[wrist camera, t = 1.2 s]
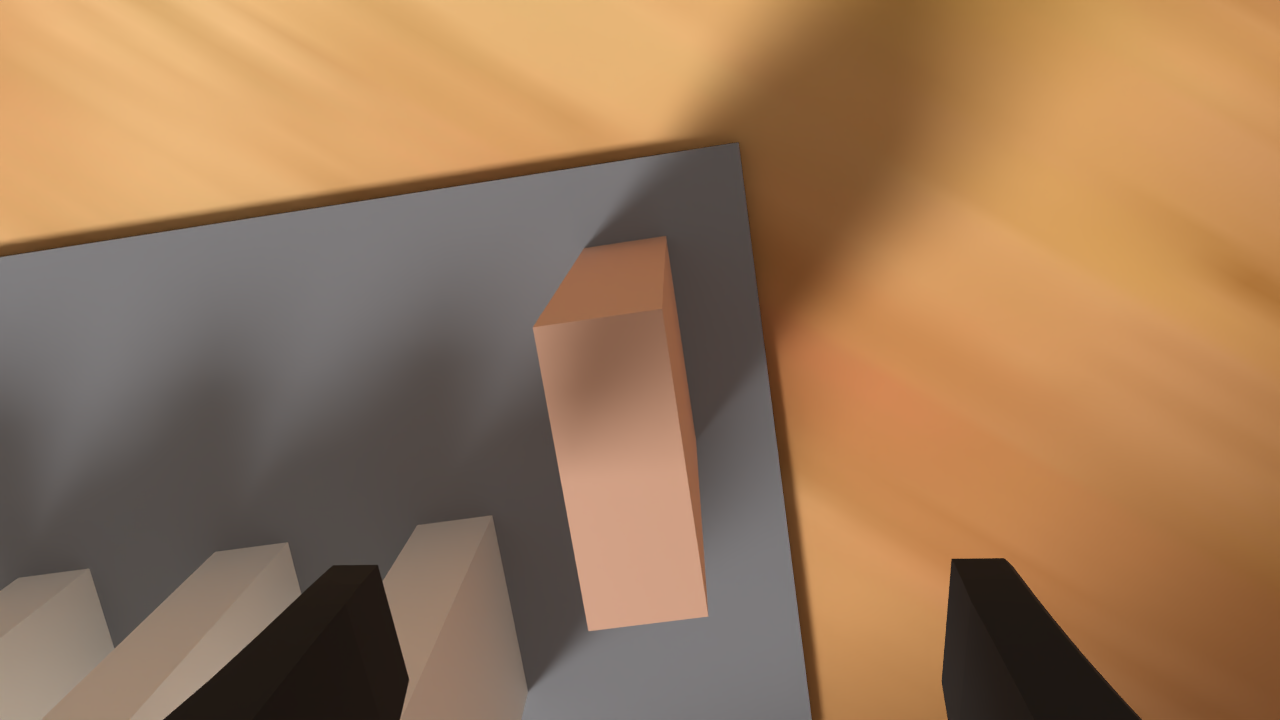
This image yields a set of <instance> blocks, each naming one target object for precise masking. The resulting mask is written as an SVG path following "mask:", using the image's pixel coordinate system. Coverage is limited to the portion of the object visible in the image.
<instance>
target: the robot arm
mask: <svg viewBox="0 0 1280 720" xmlns="http://www.w3.org/2000/svg"><path fill="white" fill-rule="evenodd" d="M408 683H409V677H408V673H407V669H406V666H405V662H404V658H403V655H402V651H401V647H400V644H399V640H398V636H397V633H396V629H395V625H394V622H393V618H392V614H391V611H390V607H389V604H388V600H387V596H386V593H385V589H384V585H383V582H382V578H381V574H380V571H379V567H378V565H333V566H332V567H330V568H329V569H328V570H327V571H326V572H325V573H324V574H323V575H321V576H320V577H319V578H318V579H317V580H316V581H315V582H314V583H313V584H312V585H311V586H309V587H308V588H307V589H306V590H305V591H304V592H303V593H302V594H301V595H300V596H299V597H298V598H297V599H296V600H295V601H294V602H292V603H291V604H290V605H289V606H288V607H287V608H286V609H285V610H284V611H283V612H282V613H281V614H280V615H279V616H278V617H277V618H276V619H275V620H274V621H272V622H271V623H270V624H269V625H268V626H267V627H266V628H265V629H264V630H263V631H262V632H261V633H260V634H259V635H258V636H257V637H255V638H254V639H253V640H252V641H251V642H250V643H249V644H248V645H247V646H246V647H245V648H244V649H242V650H241V651H240V652H239V653H238V654H237V655H236V656H235V657H234V658H233V659H232V660H231V661H229V662H228V663H227V664H226V665H225V666H224V667H223V668H222V669H221V670H220V671H219V672H218V673H216V674H215V675H214V676H213V677H212V678H211V679H210V680H209V681H208V682H206V683H205V684H204V685H203V686H202V687H201V688H199V689H198V690H197V691H196V692H195V693H194V694H192V695H191V696H190V697H189V698H188V699H187V700H185V701H184V702H183V703H182V704H181V705H179V706H178V707H177V708H176V709H175V710H174V711H172V712H171V713H170V714H169V715H168V716H167V717H165V718H164V719H163V720H400V718H401V713H402V709H403V705H404V700H405V696H406V692H407V688H408ZM942 686H943V692H944V699H945V705H946V711H947V717H948V720H1142V719H1141V718H1140V717H1139V716H1138V715H1137V714H1136V713H1135V712H1134V711H1133V710H1132V709H1131V708H1130V706H1129V705H1128V704H1127V703H1126V702H1125V701H1124V700H1123V699H1122V698H1121V697H1120V696H1119V694H1118V693H1117V692H1116V691H1115V690H1114V689H1113V688H1112V687H1111V685H1110V684H1109V683H1108V682H1107V681H1106V680H1105V679H1104V678H1103V676H1102V675H1101V674H1100V673H1099V672H1098V671H1097V670H1096V669H1095V668H1094V666H1093V665H1092V664H1091V663H1090V662H1089V661H1088V660H1087V658H1086V657H1085V656H1084V655H1083V654H1082V653H1081V651H1080V650H1079V649H1078V648H1077V647H1076V646H1075V644H1074V643H1073V642H1072V641H1071V640H1070V638H1069V637H1068V636H1067V635H1066V633H1065V632H1064V631H1063V630H1062V629H1061V627H1060V626H1059V625H1058V624H1057V623H1056V621H1055V620H1054V619H1053V618H1052V616H1051V615H1050V614H1049V613H1048V611H1047V610H1046V609H1045V608H1044V606H1043V605H1042V604H1041V603H1040V601H1039V600H1038V599H1037V597H1036V596H1035V595H1034V594H1033V592H1032V591H1031V590H1030V588H1029V587H1028V586H1027V584H1026V583H1025V582H1024V581H1023V579H1022V578H1021V577H1020V575H1019V574H1018V573H1017V571H1016V570H1015V569H1014V567H1013V566H1012V565H1011V564H1010V563H1009V562H1008V561H1007V560H1005V559H1004V558H992V559H952V562H951V574H950V586H949V599H948V611H947V623H946V636H945V648H944V660H943V673H942Z"/></svg>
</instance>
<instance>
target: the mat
mask: <svg viewBox="0 0 1280 720" xmlns="http://www.w3.org/2000/svg"><path fill="white" fill-rule="evenodd" d="M662 236H666V239H667V246H668V252H669V259H670V266H671V273H672V280H673V286H674V293H675V300H676V307H677V314H678V320H679V327H680V334H681V341H682V348H683V354H684V361H685V368H686V375H687V382H688V388H689V395H690V402H691V409H692V416H693V422H694V429H695V436H696V446H697V460H698V475H699V489H700V504H701V518H702V532H703V547H704V561H705V575H706V590H707V604H708V617H700V618H692V619H684V620H676V621H668V622H660V623H652V624H643V625H635V626H627V627H619V628H611V629H603V630H594V631H588V626H587V621H586V615H585V610H584V604H583V599H582V593H581V588H580V582H579V577H578V571H577V566H576V561H575V555H574V550H573V544H572V539H571V533H570V528H569V522H568V517H567V512H566V506H565V501H564V495H563V490H562V484H561V479H560V473H559V468H558V462H557V457H556V452H555V446H554V441H553V435H552V430H551V424H550V419H549V413H548V408H547V403H546V397H545V392H544V386H543V381H542V375H541V370H540V364H539V359H538V353H537V348H536V343H535V337H534V332H533V326H534V325H535V323H536V322H537V320H538V318H539V317H540V315H541V314H542V312H543V311H544V309H545V308H546V306H547V305H548V303H549V301H550V300H551V298H552V297H553V295H554V294H555V292H556V291H557V289H558V288H559V286H560V284H561V283H562V281H563V280H564V278H565V277H566V275H567V274H568V272H569V271H570V269H571V267H572V266H573V264H574V263H575V261H576V260H577V258H578V257H579V255H580V254H581V252H582V250H583V249H584V248H588V247H595V246H601V245H608V244H615V243H621V242H628V241H635V240H641V239H648V238H655V237H662ZM490 515H492V516H493V521H494V526H495V531H496V536H497V541H498V546H499V551H500V556H501V561H502V566H503V571H504V575H505V580H506V585H507V590H508V595H509V600H510V605H511V610H512V615H513V620H514V625H515V630H516V635H517V640H518V644H519V649H520V654H521V659H522V664H523V669H524V674H525V679H526V684H527V689H528V694H527V698H526V702H525V706H524V710H523V714H522V718H521V720H812V718H811V710H810V702H809V694H808V686H807V678H806V670H805V662H804V654H803V646H802V639H801V631H800V623H799V615H798V607H797V599H796V591H795V583H794V575H793V568H792V560H791V552H790V544H789V536H788V528H787V520H786V512H785V504H784V496H783V489H782V481H781V473H780V465H779V457H778V449H777V441H776V433H775V425H774V418H773V410H772V402H771V394H770V386H769V378H768V370H767V362H766V354H765V347H764V339H763V331H762V323H761V315H760V307H759V299H758V291H757V283H756V275H755V268H754V260H753V252H752V244H751V236H750V228H749V220H748V212H747V204H746V197H745V189H744V181H743V173H742V165H741V157H740V149H739V143H738V142H736V143H730V144H723V145H717V146H710V147H704V148H697V149H691V150H684V151H678V152H672V153H665V154H659V155H652V156H646V157H639V158H633V159H627V160H620V161H614V162H607V163H601V164H594V165H588V166H581V167H575V168H569V169H562V170H556V171H549V172H543V173H536V174H530V175H523V176H517V177H511V178H504V179H498V180H491V181H485V182H478V183H472V184H465V185H459V186H453V187H446V188H440V189H433V190H427V191H420V192H414V193H408V194H401V195H395V196H388V197H382V198H375V199H369V200H362V201H356V202H350V203H343V204H337V205H330V206H324V207H317V208H311V209H304V210H298V211H292V212H285V213H279V214H272V215H266V216H259V217H253V218H246V219H240V220H234V221H227V222H221V223H214V224H208V225H201V226H195V227H189V228H182V229H176V230H169V231H163V232H156V233H150V234H143V235H137V236H131V237H124V238H118V239H111V240H105V241H98V242H92V243H85V244H79V245H73V246H66V247H60V248H53V249H47V250H40V251H34V252H27V253H21V254H15V255H8V256H2V257H0V591H1V590H2V589H3V588H5V587H6V586H8V585H9V584H10V583H12V582H13V581H15V580H16V579H17V578H20V577H28V576H36V575H43V574H51V573H58V572H66V571H74V570H81V569H90V572H91V575H92V578H93V582H94V585H95V588H96V591H97V595H98V598H99V601H100V604H101V607H102V611H103V614H104V617H105V620H106V623H107V627H108V630H109V633H110V636H111V639H112V643H113V646H114V649H115V648H116V647H117V646H118V645H119V644H120V643H121V642H122V641H123V640H124V639H125V638H126V637H127V636H128V635H129V634H130V633H131V632H132V631H133V630H134V629H135V628H136V627H138V626H139V625H140V624H141V623H142V622H143V621H144V620H145V619H146V618H147V617H148V616H149V615H150V614H151V613H152V612H153V611H154V610H155V609H156V608H157V607H158V606H159V605H160V604H161V603H162V602H163V601H165V600H166V599H167V598H168V597H169V596H170V595H171V594H172V593H173V592H174V591H175V590H176V589H177V588H178V587H179V586H180V585H181V584H182V583H183V582H184V581H185V580H186V579H187V578H188V577H189V576H190V575H191V574H193V573H194V572H195V571H196V570H197V569H198V568H199V567H200V566H201V565H202V564H203V563H204V562H205V561H206V560H207V559H208V558H209V557H210V556H211V555H212V554H213V553H214V552H217V551H225V550H233V549H240V548H248V547H255V546H263V545H271V544H278V543H286V542H288V544H289V548H290V552H291V556H292V560H293V564H294V568H295V572H296V576H297V579H298V583H299V587H300V591H301V594H302V593H303V592H304V591H305V590H306V589H307V588H308V587H309V586H311V585H312V584H313V583H314V582H315V581H316V580H317V579H318V578H319V577H320V576H321V575H323V574H324V573H325V572H326V571H327V570H328V569H329V568H330V567H332V566H333V565H378V567H379V571H380V574H381V578H382V581H383V580H384V578H385V577H386V575H387V573H388V572H389V570H390V568H391V567H392V565H393V564H394V562H395V560H396V559H397V557H398V556H399V554H400V552H401V551H402V549H403V547H404V546H405V544H406V543H407V541H408V539H409V538H410V536H411V534H412V533H413V531H414V530H415V528H416V526H417V525H422V524H430V523H437V522H445V521H452V520H460V519H468V518H475V517H483V516H490Z"/></svg>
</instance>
